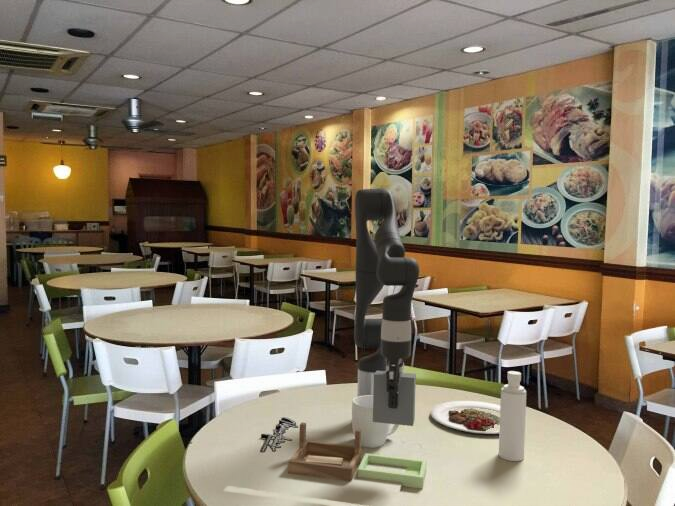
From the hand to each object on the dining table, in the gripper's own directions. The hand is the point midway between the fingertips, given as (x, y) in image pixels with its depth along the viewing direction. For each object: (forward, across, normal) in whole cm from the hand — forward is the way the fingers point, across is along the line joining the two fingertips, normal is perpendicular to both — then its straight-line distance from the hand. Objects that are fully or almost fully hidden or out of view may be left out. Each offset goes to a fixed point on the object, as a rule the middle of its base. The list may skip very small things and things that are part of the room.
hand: (394, 404), depth 140 cm
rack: (+18, -1, +17) cm, 25 cm away
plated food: (+19, +48, -21) cm, 56 cm away
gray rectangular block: (+4, 0, 0) cm, 4 cm away
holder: (+18, 0, 0) cm, 18 cm away
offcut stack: (+17, -5, +17) cm, 25 cm away
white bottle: (+18, +21, -30) cm, 41 cm away
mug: (+18, +18, +8) cm, 27 cm away
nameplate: (+19, +16, +36) cm, 44 cm away
